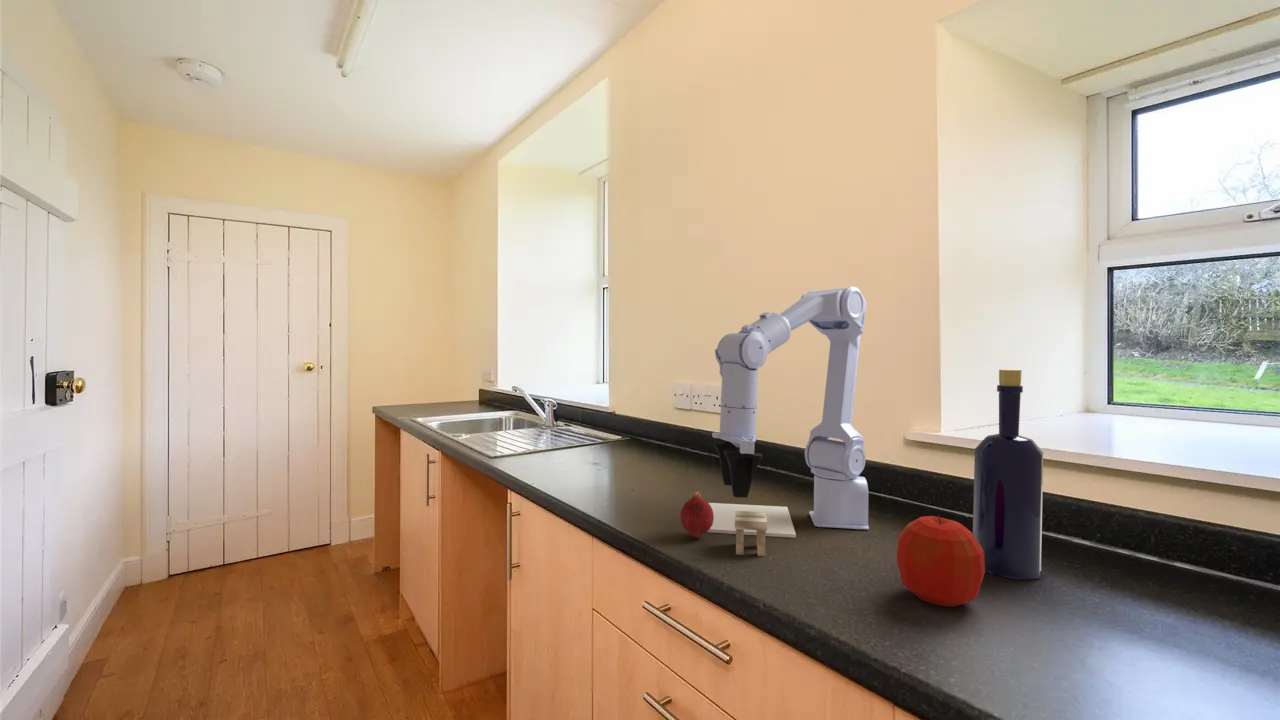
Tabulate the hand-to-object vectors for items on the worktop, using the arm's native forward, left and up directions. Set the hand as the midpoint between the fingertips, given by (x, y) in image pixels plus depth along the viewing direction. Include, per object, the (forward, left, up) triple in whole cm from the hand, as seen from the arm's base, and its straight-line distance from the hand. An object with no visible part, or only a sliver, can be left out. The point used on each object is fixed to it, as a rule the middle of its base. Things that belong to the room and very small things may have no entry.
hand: (735, 490), depth 87 cm
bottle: (-40, -1, -10) cm, 42 cm away
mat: (-2, -16, -10) cm, 19 cm away
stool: (-2, -1, -10) cm, 10 cm away
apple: (-26, +12, -10) cm, 31 cm away
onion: (+7, -5, -10) cm, 13 cm away
